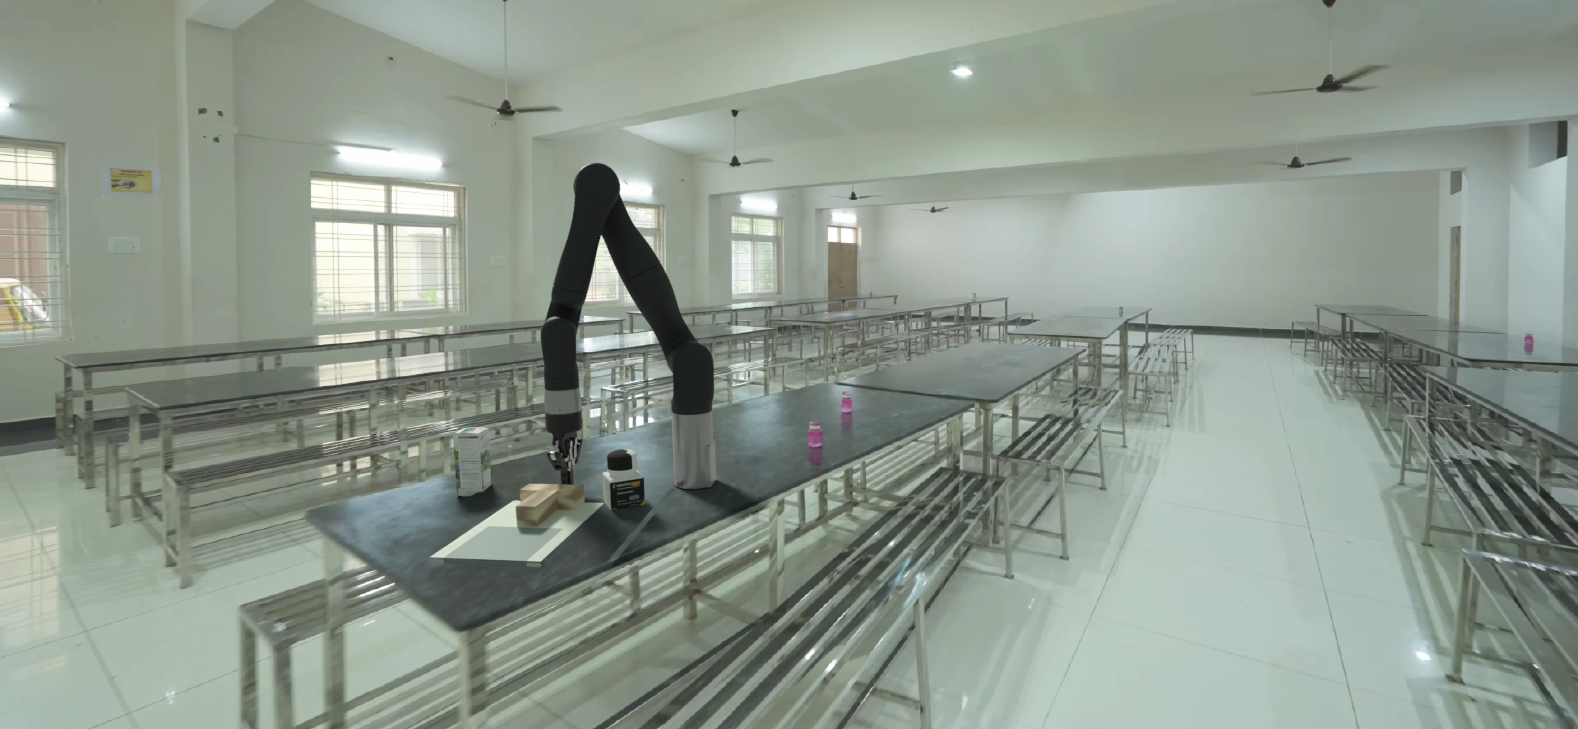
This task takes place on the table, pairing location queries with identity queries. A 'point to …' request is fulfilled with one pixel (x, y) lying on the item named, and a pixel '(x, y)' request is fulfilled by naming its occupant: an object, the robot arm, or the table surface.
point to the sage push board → (514, 538)
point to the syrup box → (472, 460)
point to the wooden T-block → (546, 502)
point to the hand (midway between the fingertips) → (567, 486)
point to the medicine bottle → (623, 480)
